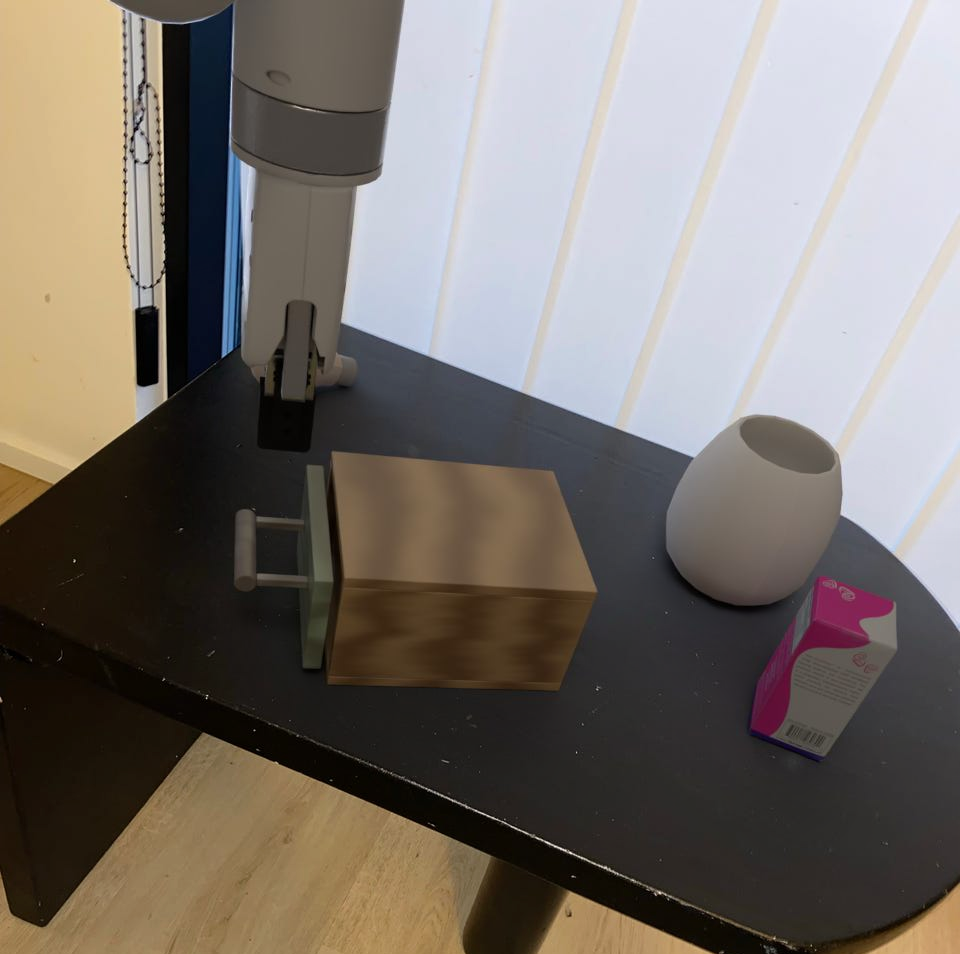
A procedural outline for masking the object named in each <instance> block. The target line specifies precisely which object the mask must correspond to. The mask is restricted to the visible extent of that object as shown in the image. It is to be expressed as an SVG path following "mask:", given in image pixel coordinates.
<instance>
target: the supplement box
mask: <svg viewBox="0 0 960 954" xmlns="http://www.w3.org/2000/svg"><path fill="white" fill-rule="evenodd" d="M897 634H898V633H897V602H896V601H893V600H892V599H891V600H890V599H888V598H885V597H882V596H880V595H877V594H875V593H871V592H869V591H866V590H863V589H860V588H857V587H855V586H852V585H849V584H847V583H844V582H841V581H838V580H835V579H833V578H830V577H827V576H825V575H822V574H820V575H818V576H817V577H816V579H815V581H814V583H813V585H812V587H811V588H810V590H809V592H808V593H807V594H806V597H805V598H804V601H803V602H802V604H801V606H800V607H799V608H798V611H797V613H796V614H795V616H794V618H793V619H792V621H791V623H790V625H789V626H788V628H787V630H786V632H785V634H784V636H783V637H782V639H781V641H780V643H779V644H778V646H777V648H776V649H775V650H774V653H773V654H772V657H771V658H770V660H769V662H768V663H767V665H766V667H765V669H764V671H763V672H762V674H761V676H760V677H759V679H758V681H757V683H756V684H755V688H754V689H755V690H754V695H753V700H752V706H751V712H750V717H749V724H748V731H747V732H748V733H747V734H748V735H751V736H753V737H756V738H758V739H761V740H763V741H766V742H768V743H771V744H774V745H776V746H779V747H781V748H784V749H786V750H789V751H792V752H794V753H797V754H799V755H802V756H804V757H807V758H809V759H812V760H814V761H817V762H820V763H822V761H823V760H824V758H825V757H826V756H827V755H828V753H829V752H830V750H831V749H832V747H833V745H834V744H835V743H836V741H837V739H838V738H839V737H840V736H841V734H842V732H843V731H844V730H845V728H846V727H847V725H848V724H849V722H850V721H851V719H852V718H853V716H854V715H855V714H856V712H857V710H858V709H859V707H860V706H861V704H862V703H863V701H864V700H865V698H867V695H868V694H869V693H870V691H871V690H872V688H873V686H874V685H875V683H876V682H877V681H878V679H879V678H880V677H881V675H882V674H883V672H884V670H885V669H886V667H887V666H889V665H888V664H890V662H891V661H892V659H893V657H894V656H895V654H896V653H897V651H898V637H897Z"/></svg>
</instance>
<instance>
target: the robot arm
mask: <svg viewBox="0 0 960 954" xmlns="http://www.w3.org/2000/svg"><path fill="white" fill-rule="evenodd" d="M107 1H108V2H109V3H111V4H113V5H114V6H116V7H117V8H120V9H122V10H124V11H126V12H128V13H130V14H132V15H134V16H137V17H138V18H141V19H143V20H148V21H152V22H156V23H158V24H159V23H160V24H171V25H184V24H189V23H190V24H191V23H197V22H202V21H204V20H207V19H209V18H211V17H213V16H216V15H218V14H220V13H222V11H224V10H226V9H227V8H228V7H229V6H231V5H232V4H233V14H232V15H233V16H232V44H231V47H232V49H231V81H230V82H231V86H230V112H229V113H230V115H229V117H230V119H229V142H228V143H229V144H228V145H229V148H230V151H231V152H232V153H233V154H234V155H235V156H236V158H238V160H240V161H241V162H242V163H244V164H246V165H247V166H249V167H248V168H249V169H248V177H247V186H246V187H247V188H246V198H245V199H246V200H245V212H244V213H245V215H244V216H245V217H244V239H243V259H242V281H241V283H242V285H241V317H240V319H241V321H240V322H241V323H240V325H241V326H240V355H241V359H242V361H243V362H244V364H246V366H247V367H248V368H251V367H252V368H254V365H255V366H263V367H264V375H265V377H261V376H260V383H258V387H259V388H258V401H257V419H256V445H257V447H258V449H260V450H267V451H268V450H269V451H278V452H279V451H280V452H292V453H293V452H294V453H308V452H310V450H311V445H312V439H313V438H312V436H313V429H314V428H313V427H314V418H315V409H316V402H317V401H316V400H317V391H316V387H315V378H316V370H317V365H318V369H319V370H321V374H322V375H324V374H326V373H327V372H329V371H330V370H331V369H332V368H333V366H334V362H335V356H336V352H337V350H338V344H339V338H340V330H341V325H342V318H343V311H344V303H345V296H346V288H347V281H348V273H349V266H350V265H349V263H350V257H351V256H350V255H351V248H352V238H353V229H354V221H355V219H354V218H355V210H356V201H357V192H358V187H360V186H364V185H365V186H366V185H369V184H371V183H373V182H376V181H377V180H378V179H379V178H380V177H381V175H382V173H383V165H384V158H385V151H386V146H387V137H388V130H389V121H390V115H391V114H390V113H391V107H392V99H393V93H394V92H393V91H394V85H395V78H396V77H395V76H396V70H397V63H398V62H397V61H398V54H399V48H400V39H401V32H402V25H403V18H404V17H403V16H404V12H405V11H404V10H405V3H406V2H405V1H406V0H107Z"/></svg>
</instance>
